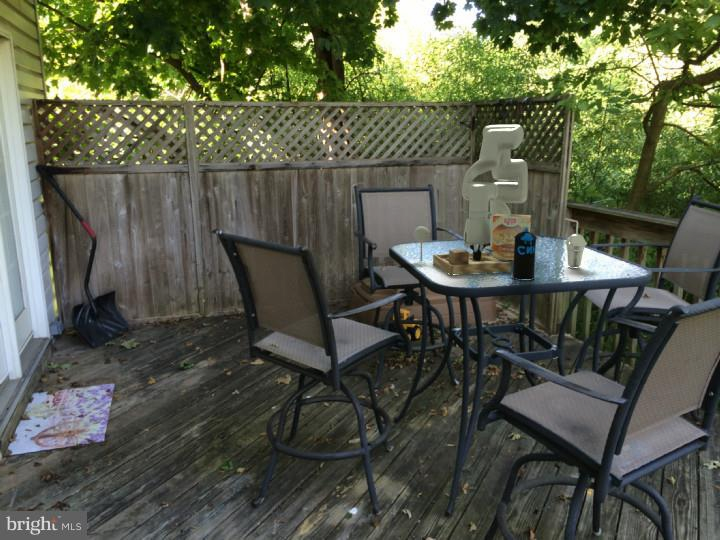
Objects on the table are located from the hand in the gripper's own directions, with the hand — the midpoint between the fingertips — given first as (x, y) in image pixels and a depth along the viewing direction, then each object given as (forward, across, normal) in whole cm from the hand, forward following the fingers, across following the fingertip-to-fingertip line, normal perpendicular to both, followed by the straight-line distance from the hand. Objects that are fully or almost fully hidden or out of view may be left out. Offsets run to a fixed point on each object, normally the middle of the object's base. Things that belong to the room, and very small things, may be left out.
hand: (476, 260), depth 234 cm
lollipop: (+4, +16, -24) cm, 29 cm away
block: (+1, +8, +1) cm, 8 cm away
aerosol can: (+4, -12, +17) cm, 21 cm away
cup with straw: (+4, -40, +4) cm, 40 cm away
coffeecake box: (+4, -22, -16) cm, 27 cm away
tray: (+4, +1, -4) cm, 5 cm away
